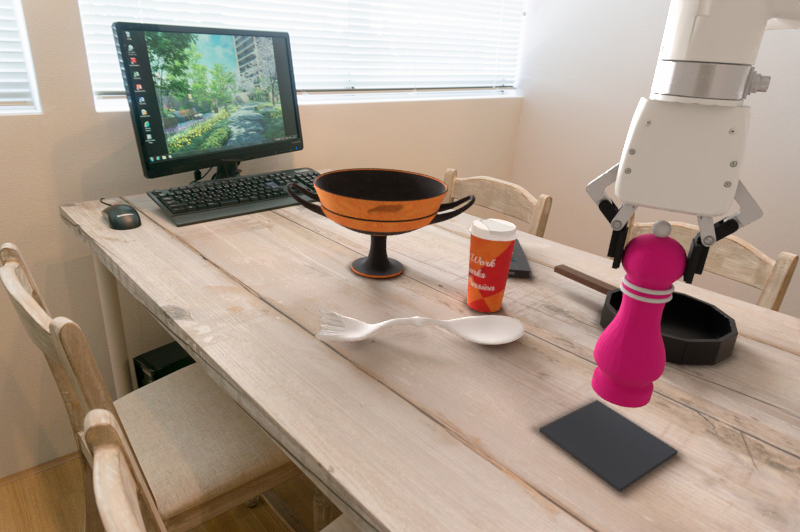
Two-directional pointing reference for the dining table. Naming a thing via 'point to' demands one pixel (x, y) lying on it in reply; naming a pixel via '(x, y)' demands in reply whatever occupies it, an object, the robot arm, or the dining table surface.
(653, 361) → the pepper mill
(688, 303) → the pan
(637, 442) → the slate mat
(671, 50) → the robot arm
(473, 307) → the coffee cup
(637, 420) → the dining table surface
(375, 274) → the cup
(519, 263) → the smart home device
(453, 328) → the spoon
